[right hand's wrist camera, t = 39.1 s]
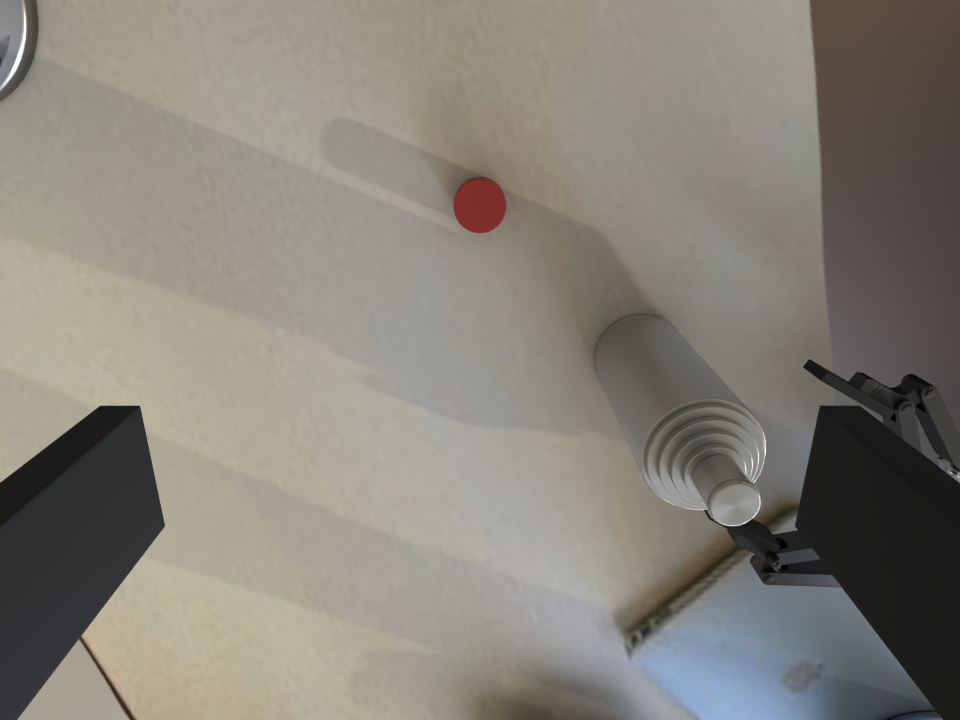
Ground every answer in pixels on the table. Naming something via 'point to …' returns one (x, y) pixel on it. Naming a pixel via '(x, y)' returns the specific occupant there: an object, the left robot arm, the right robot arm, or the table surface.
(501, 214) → the cap
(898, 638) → the right robot arm
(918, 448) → the left robot arm
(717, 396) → the bottle
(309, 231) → the table surface
